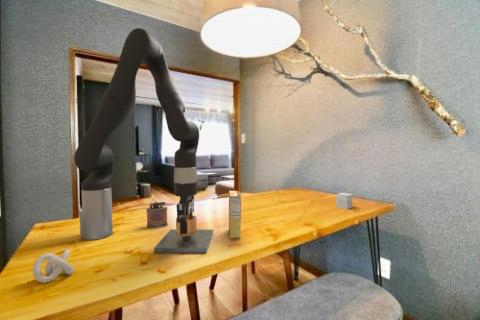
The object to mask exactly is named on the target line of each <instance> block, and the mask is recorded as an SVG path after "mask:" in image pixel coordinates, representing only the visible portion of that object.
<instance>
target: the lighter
mask: <svg viewBox="0 0 480 320" xmlns="http://www.w3.org/2000/svg"><path fill="white" fill-rule="evenodd" d="M168 226H169V225H168V206H166V201H159V202H158V201H154V202H149V207H148V208H146V228H147V229H156V228H157V229H158V228H165V227H168Z"/></svg>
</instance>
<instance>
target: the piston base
mask: <svg viewBox="0 0 480 320" xmlns="http://www.w3.org/2000/svg"><path fill="white" fill-rule="evenodd" d="M213 235H214V229H197V232H196V234H194V235H191V236H179V235H177V234H176V228H175V229H170V230H169V231H168V232H167V233H166V234H165V235H164V236H163V238H162V239H160V241H159V242H158V243H157V244H156V245H155V246H154V247H153V253H154V254H207V253H208V250H209V246H210V245H211V241H212V239H213Z"/></svg>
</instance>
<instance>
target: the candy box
mask: <svg viewBox="0 0 480 320" xmlns="http://www.w3.org/2000/svg"><path fill="white" fill-rule="evenodd" d="M241 230H242V195H241V193H240V191H239V190H229V191H228V232H229V233H228V234H229V239H239V238H242V235H241V233H242V231H241Z"/></svg>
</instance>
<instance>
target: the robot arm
mask: <svg viewBox="0 0 480 320" xmlns="http://www.w3.org/2000/svg"><path fill="white" fill-rule="evenodd" d="M141 64H143V65H145V66H146V68H147V69H148V70H149V72H150V73H151V76H152V77H153V80H154V87H155V89H154V90H155V94H156V97H157V100H158V103H159V104H160V106H161V108H162V111H163V113H164V114H165V115H164V116H165V120H166V125H167V129H168V132H169V134H170V136H171V137H172V139H174V141H177V142H179V148H178V149H177V150H176V151H175V152H174V172H173V191H174V194H173V195H175V196H176V197H180V199H179V201H178V203H176V218H177V222H179V223H180V233H181V234H187V221H188V215H193V216H194V212H195V196H196V195H197V194H198V171H197V170H198V169H197V150H198V149H199V148H198V146H199V142H200V141H199V140H200V129H199V127H198V125H197V123H195V122H193V121H190V120H187V118H186V117H185V114H184V113H185V112H186V106H185V104H184V102H183V99H182V97H181V96H180V93H179V92H178V89H177V87H176V84H175V83H174V80H173V78H172V76H171V73H170V70H169V67H168V63H167V61H166V56H165V53H164V50H163V46H162V45H161V43H160V42H159V41H158V40H157V39H156V38H155V37H153V35H151V34H150V33H149V32H148V31H147V30H145V29H144V28H140V27H136V28H134V29H132V30H131V31H130V32H129V33H128V34H127V36H126V39H125V40H124V43H123V47H122V49H121V53H120V56H119V59H118V63H117V65H116V67H115V70H114V73H113V75H112V76H111V80H110V82H109V84H108V87H107V89H106V91H105V92H104V95H103V97H102V99H101V101H100V104H99V107H98V109H97V111H96V113H95V115H94V117H93V120H92V122H91V123H90V126H89V128H88V129H87V131H86V133H85V134H84V136H83V138H82V139H81V141H80V143H79V144H78V146H77V148H76V150H75V153H74V157H73V160H74V164H75V166H76V167H77V169H79V170H81V171H86V172H89V171H90V172H89V175H88V177H87V178H85V179H84V180H83V181H82V182H81V185H80V187H81V188H80V189H81V209H82V210H80V211H79V233H80V234H79V235H80V239H84V240H88V241H89V240H94V241H95V240H98V239H99V240H101V239H105V238H107V237H109V236H111V235H112V234H113V231H114V229H113V224H114V223H113V198H112V196H113V195H112V194H113V193H112V184H113V183H112V182H113V180H114V174H115V173H114V172H115V171H114V170H115V169H114V168H115V166H114V165H115V158H114V153H113V151H112V149H111V148H110V147H109V145H106V144H107V143H106V142H107V141H108V139H109V137H110V136H111V135H113V133H114V132H115V131H116V130H117V129H118V128H120V127H121V126H122V125H123V124H124V123H125V122H126V120H128V118H129V116H130V114H131V112H132V109H133V107H134V105H135V102H136V93H137V92H136V89H137V88H136V80H137V79H136V78H137V74H138V72H139V69H140V67H141ZM182 216H183V218H182Z"/></svg>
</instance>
